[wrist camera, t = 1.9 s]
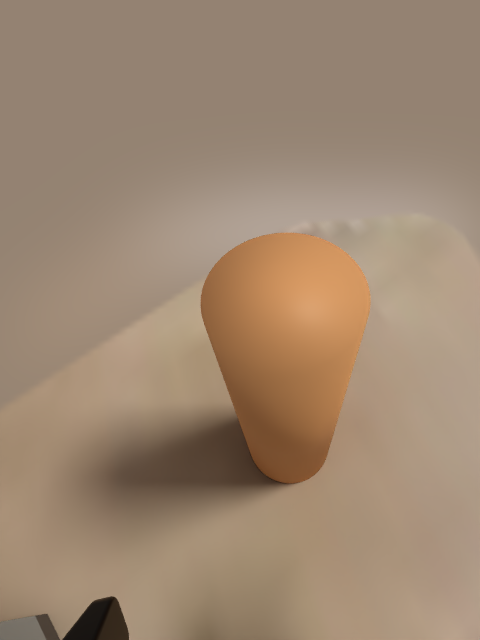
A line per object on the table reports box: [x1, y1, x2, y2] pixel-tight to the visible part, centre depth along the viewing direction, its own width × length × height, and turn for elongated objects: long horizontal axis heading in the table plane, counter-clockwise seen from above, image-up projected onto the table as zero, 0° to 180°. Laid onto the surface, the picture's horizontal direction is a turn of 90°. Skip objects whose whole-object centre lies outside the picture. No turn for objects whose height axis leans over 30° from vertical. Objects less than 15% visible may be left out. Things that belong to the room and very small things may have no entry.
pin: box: [201, 233, 370, 483], centre depth 15 cm, size 4×4×13 cm
